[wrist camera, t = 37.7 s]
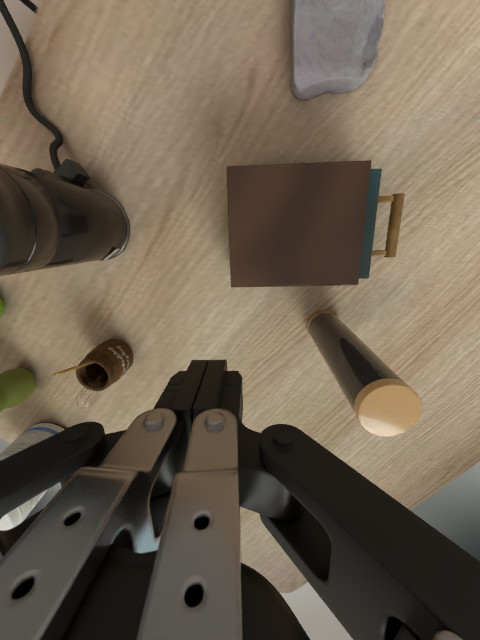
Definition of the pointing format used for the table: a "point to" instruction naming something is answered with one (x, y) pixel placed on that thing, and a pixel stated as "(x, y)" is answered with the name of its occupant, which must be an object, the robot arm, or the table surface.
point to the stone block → (333, 44)
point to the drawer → (370, 223)
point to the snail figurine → (1, 306)
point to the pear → (15, 387)
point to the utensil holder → (103, 366)
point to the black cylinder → (365, 378)
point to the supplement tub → (23, 442)
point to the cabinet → (297, 223)
